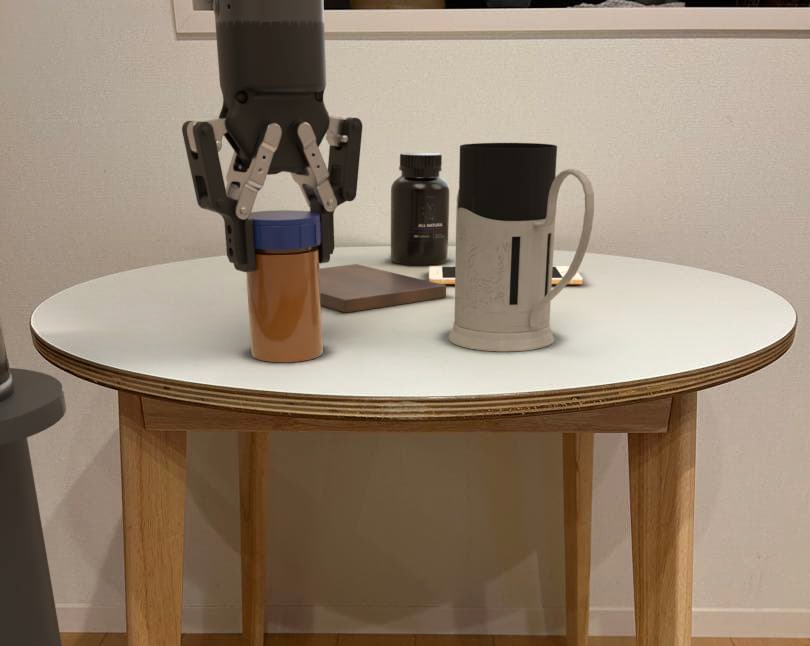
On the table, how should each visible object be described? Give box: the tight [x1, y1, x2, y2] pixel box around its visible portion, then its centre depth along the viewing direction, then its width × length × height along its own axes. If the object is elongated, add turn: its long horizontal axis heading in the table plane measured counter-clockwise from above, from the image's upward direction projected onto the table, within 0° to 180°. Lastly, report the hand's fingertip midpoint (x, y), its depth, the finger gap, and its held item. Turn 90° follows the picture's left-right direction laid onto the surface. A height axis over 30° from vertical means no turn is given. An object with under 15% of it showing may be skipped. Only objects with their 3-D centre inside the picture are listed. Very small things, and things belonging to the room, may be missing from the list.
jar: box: [245, 247, 324, 363], centre depth 78 cm, size 6×6×10 cm
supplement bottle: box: [390, 152, 451, 266], centre depth 117 cm, size 7×7×12 cm
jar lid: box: [248, 209, 322, 250], centre depth 76 cm, size 6×6×2 cm
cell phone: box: [428, 265, 584, 285], centre depth 109 cm, size 8×16×1 cm, turn 89°
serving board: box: [319, 263, 447, 314], centre depth 102 cm, size 12×16×1 cm
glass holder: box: [448, 142, 595, 352], centre depth 79 cm, size 9×14×15 cm, turn 33°
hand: (283, 265), depth 77 cm, fingers closed on jar lid, 6 cm apart
